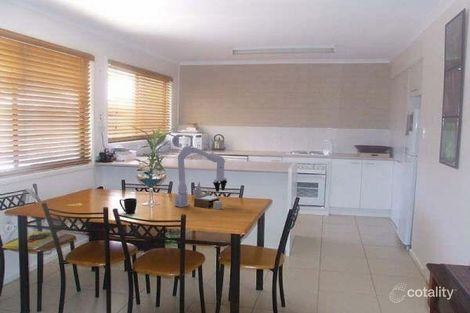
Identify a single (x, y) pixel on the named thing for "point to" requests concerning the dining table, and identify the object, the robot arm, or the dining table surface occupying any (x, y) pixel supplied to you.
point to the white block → (217, 205)
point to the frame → (203, 202)
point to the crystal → (199, 191)
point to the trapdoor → (206, 197)
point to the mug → (129, 205)
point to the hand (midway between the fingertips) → (220, 190)
